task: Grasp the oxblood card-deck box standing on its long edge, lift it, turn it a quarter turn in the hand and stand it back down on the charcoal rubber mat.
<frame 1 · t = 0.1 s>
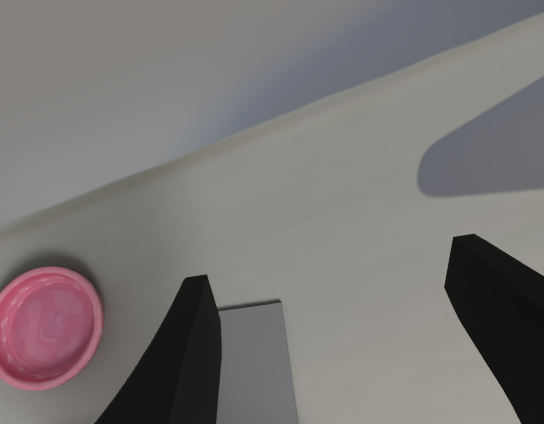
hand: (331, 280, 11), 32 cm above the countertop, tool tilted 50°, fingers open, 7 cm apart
saucer: (59, 325, 43), on the countertop
mat: (238, 408, 40), on the countertop
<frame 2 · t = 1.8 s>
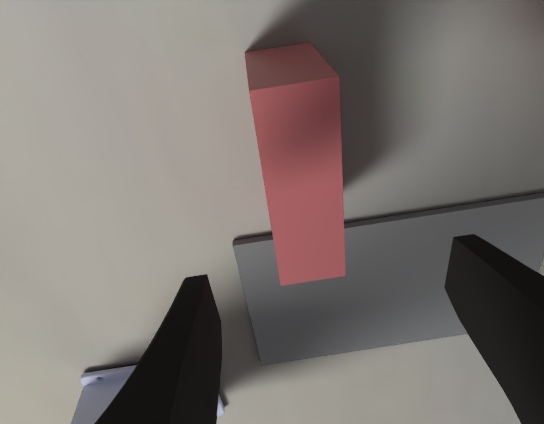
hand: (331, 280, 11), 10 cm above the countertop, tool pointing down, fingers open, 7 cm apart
deck box: (287, 138, 20), on the countertop
mat: (391, 285, 27), on the countertop
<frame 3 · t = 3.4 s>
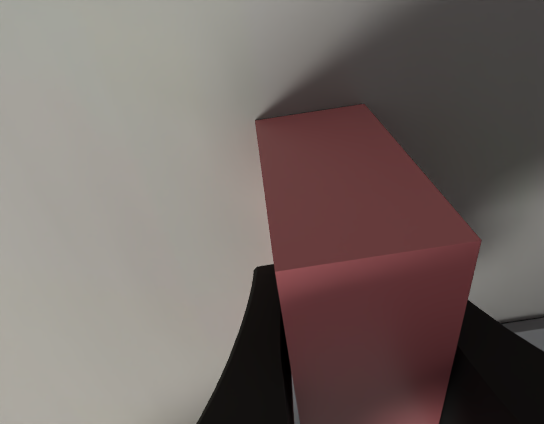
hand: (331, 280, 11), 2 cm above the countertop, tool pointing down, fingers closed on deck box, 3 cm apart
deck box: (319, 240, 13), on the countertop, touching gripper
mat: (448, 405, 20), on the countertop
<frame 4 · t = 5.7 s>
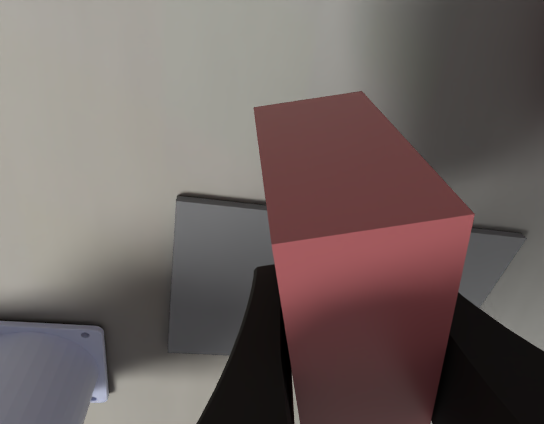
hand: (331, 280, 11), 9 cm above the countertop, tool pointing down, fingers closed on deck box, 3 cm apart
deck box: (317, 229, 13), point 7 cm above the countertop, touching gripper
mat: (333, 293, 25), on the countertop
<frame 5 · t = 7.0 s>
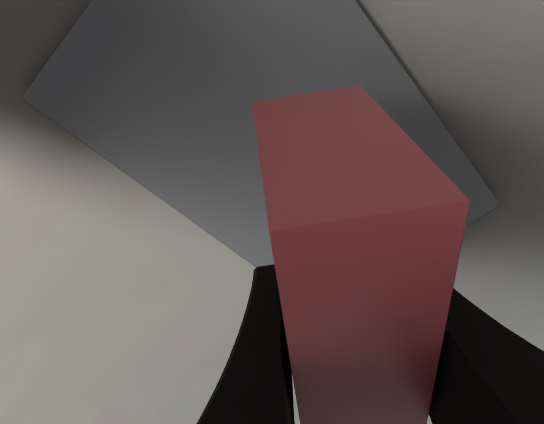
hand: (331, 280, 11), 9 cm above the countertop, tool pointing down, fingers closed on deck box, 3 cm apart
deck box: (315, 223, 13), point 6 cm above the countertop, touching gripper
mat: (293, 154, 19), on the countertop
when the fingers open (3 cm above the countertop, at t = 8.2 s): deck box stays where it is, resting on mat.
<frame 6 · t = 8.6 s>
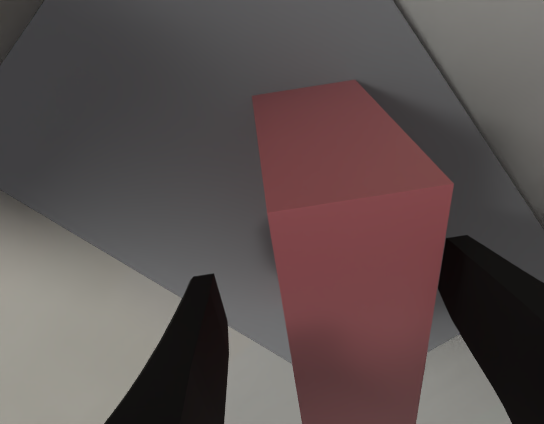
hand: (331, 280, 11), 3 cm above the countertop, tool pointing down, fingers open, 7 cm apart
deck box: (314, 215, 14), resting on mat
mat: (311, 215, 14), on the countertop
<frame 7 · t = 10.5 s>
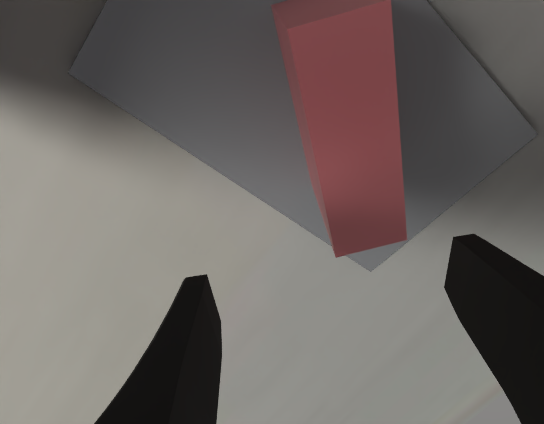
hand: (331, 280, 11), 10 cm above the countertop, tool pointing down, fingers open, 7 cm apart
deck box: (324, 99, 18), resting on mat
mat: (323, 103, 19), on the countertop
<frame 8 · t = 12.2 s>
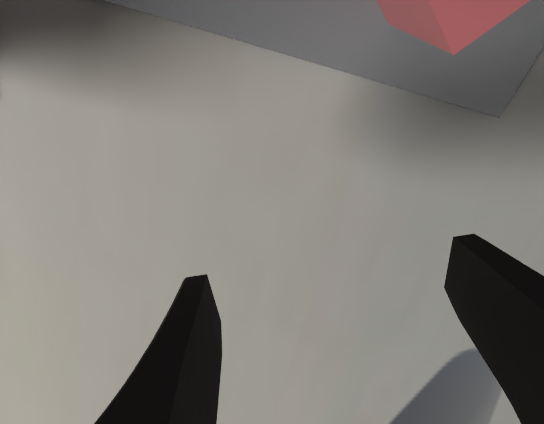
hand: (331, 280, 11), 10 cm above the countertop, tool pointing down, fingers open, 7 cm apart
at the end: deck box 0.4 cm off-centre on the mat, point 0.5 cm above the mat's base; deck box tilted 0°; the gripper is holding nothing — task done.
